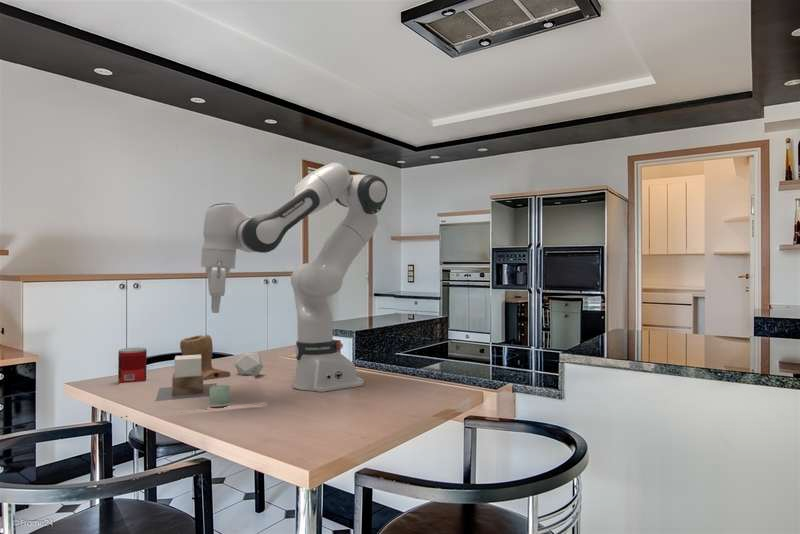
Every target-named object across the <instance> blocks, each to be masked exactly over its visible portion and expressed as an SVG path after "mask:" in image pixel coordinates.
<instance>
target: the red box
mask: <svg viewBox="0 0 800 534" xmlns="http://www.w3.org/2000/svg"><path fill="white" fill-rule="evenodd" d="M147 353H148V352H147V348H146V347H140V346H138V347H136V346H135V347H127V348H121V349H118V363H117V365H118V369H117V370H118V373H117V375H118V381H117V382H118V385H120V384H127V383H128V384H129V383H141V382H142V383H144V382H146V381H147V360H148V359H147V357H148V356H147V355H148V354H147Z"/></svg>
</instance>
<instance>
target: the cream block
mask: <svg viewBox="0 0 800 534" xmlns="http://www.w3.org/2000/svg"><path fill="white" fill-rule="evenodd" d="M173 374H174V378H177V377H190V376H201V355H185V356H183V355H175V357H174V372H173Z"/></svg>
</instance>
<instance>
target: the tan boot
mask: <svg viewBox="0 0 800 534" xmlns="http://www.w3.org/2000/svg"><path fill="white" fill-rule="evenodd" d="M179 347H180V352H181V354H182V355H181V356H185V355H201V371H203V381H207V380H214V379H221V378H222V379H223V378H227V377H230V376H231V372H230V371H227V370H222V369H218V368H214V367H213V365H212V357H213V350H214V348H213V341H212V337H211V335H209V334H205V335H193V336H190V337H187V338H186V337H185V338H183V339H181V340H180V343H179Z"/></svg>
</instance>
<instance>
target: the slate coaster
mask: <svg viewBox="0 0 800 534" xmlns="http://www.w3.org/2000/svg"><path fill="white" fill-rule="evenodd" d="M212 386H218V384H217V382H216V383H203V393H201V394H190V395H179V396H172V386H170V387H169V386H167V387H159V388H158V389H159V390H158V391H157V394H156V396H155V400H154V401H155V402H162V401H171V400H182V399H183V400H185V399H194V398H203V397H204V398H205V397H210V387H212Z"/></svg>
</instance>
